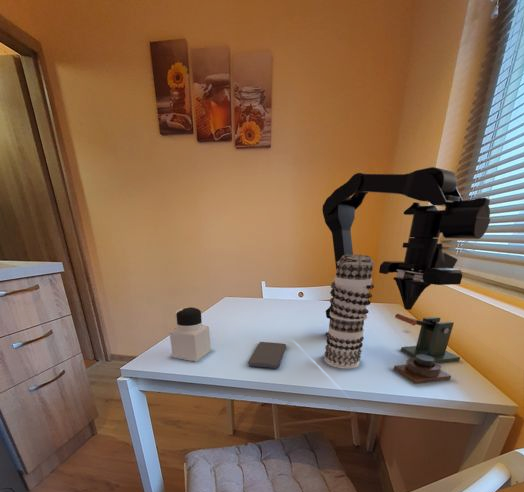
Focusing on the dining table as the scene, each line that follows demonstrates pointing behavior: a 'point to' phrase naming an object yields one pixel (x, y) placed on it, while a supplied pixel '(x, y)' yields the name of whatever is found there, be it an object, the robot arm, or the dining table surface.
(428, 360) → the button
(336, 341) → the decorative candle
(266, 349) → the smartphone
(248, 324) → the dining table surface
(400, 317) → the lever
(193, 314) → the medicine bottle
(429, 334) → the bracket
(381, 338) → the dining table surface
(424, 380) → the button block
